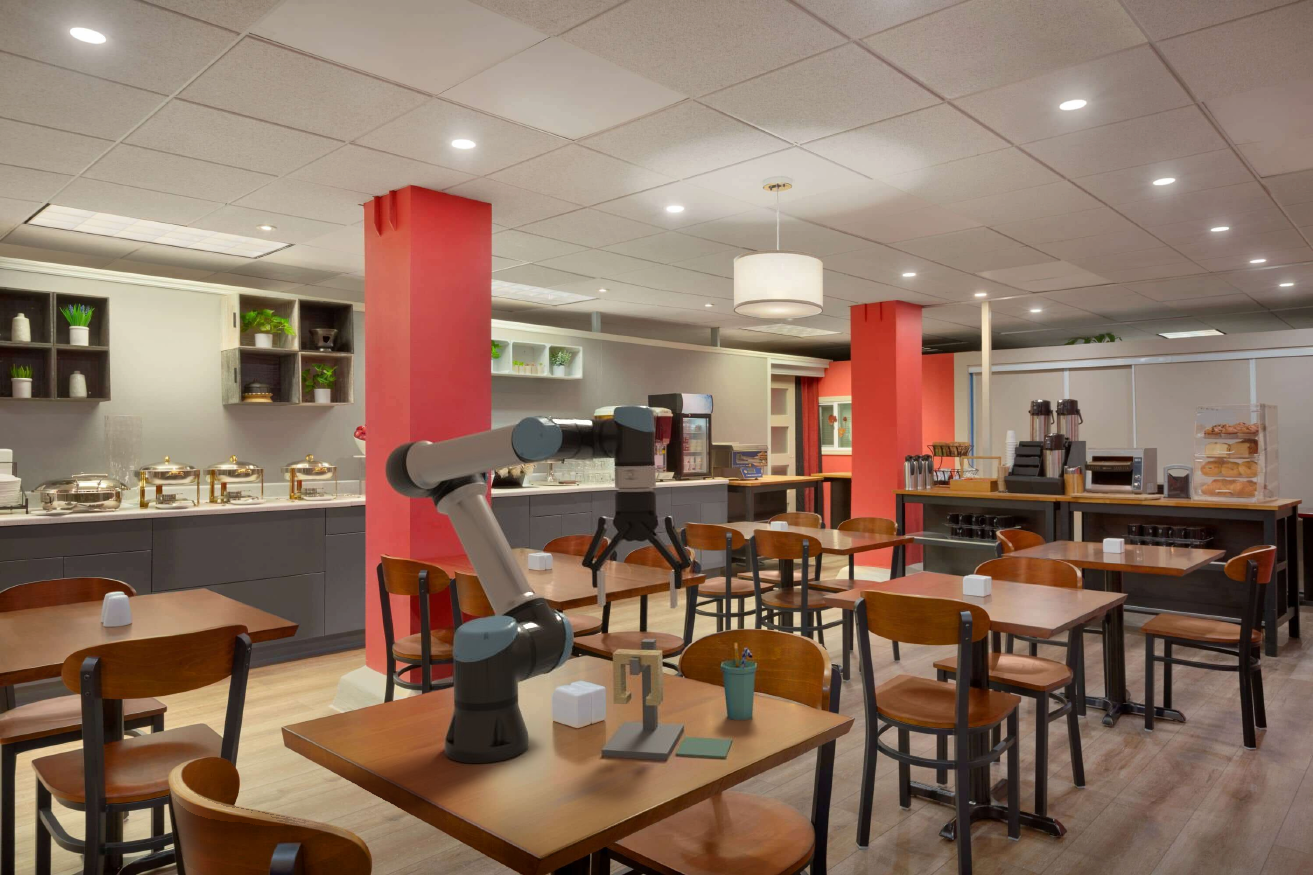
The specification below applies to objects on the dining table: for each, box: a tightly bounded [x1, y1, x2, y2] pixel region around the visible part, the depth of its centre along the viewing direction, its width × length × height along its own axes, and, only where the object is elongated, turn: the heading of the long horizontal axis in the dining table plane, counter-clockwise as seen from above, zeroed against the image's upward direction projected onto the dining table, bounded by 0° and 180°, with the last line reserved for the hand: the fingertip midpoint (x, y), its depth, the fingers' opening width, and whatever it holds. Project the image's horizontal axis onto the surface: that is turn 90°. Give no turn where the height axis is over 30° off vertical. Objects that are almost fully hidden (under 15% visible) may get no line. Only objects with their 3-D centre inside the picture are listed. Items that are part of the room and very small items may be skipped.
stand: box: [600, 638, 685, 761], centre depth 155 cm, size 12×16×18 cm
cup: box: [720, 642, 758, 721], centre depth 169 cm, size 14×8×15 cm, turn 12°
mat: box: [675, 736, 733, 759], centre depth 151 cm, size 9×9×1 cm
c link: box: [612, 648, 664, 707], centre depth 151 cm, size 8×4×9 cm, turn 77°
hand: (637, 606), depth 151 cm, fingers open, 13 cm apart
